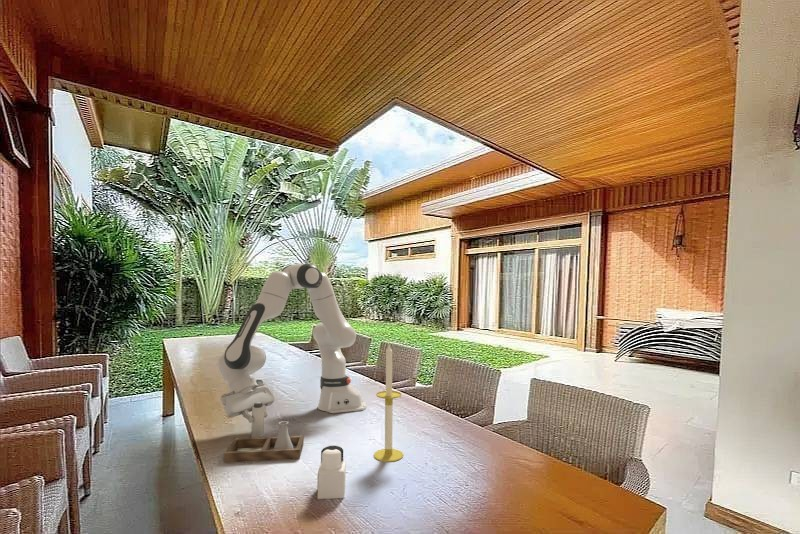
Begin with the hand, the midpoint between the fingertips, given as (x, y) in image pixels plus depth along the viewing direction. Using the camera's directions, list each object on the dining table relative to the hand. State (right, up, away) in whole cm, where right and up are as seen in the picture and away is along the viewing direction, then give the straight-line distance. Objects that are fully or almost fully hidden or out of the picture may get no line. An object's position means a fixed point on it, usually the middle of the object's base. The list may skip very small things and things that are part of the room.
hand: (259, 419), depth 153 cm
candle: (+49, -6, -17) cm, 52 cm away
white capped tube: (-1, -6, 0) cm, 6 cm away
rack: (+7, -6, -15) cm, 18 cm away
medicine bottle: (+34, -5, -41) cm, 53 cm away
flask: (+13, -6, -14) cm, 20 cm away
